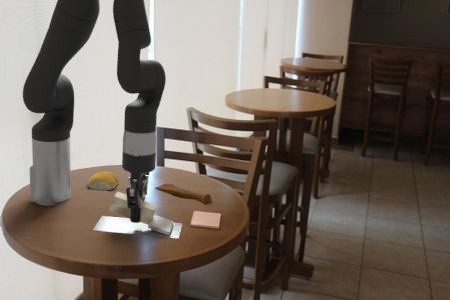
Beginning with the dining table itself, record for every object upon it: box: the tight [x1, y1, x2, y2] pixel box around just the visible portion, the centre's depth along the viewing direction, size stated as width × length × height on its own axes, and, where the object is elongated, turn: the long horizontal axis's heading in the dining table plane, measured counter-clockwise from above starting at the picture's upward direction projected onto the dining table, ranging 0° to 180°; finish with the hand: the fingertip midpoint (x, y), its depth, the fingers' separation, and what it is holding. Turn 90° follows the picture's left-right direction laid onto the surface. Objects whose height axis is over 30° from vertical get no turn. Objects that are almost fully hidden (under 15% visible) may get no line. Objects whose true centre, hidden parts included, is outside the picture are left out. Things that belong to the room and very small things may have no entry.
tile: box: [189, 210, 222, 230], centre depth 118 cm, size 2×8×7 cm
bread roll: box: [87, 171, 119, 192], centre depth 137 cm, size 8×9×4 cm
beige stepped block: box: [108, 191, 175, 235], centre depth 110 cm, size 15×6×4 cm, turn 88°
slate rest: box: [92, 215, 184, 240], centre depth 111 cm, size 20×8×1 cm, turn 88°
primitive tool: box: [154, 183, 213, 204], centre depth 135 cm, size 19×6×4 cm, turn 54°
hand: (137, 218), depth 111 cm, fingers closed on beige stepped block, 3 cm apart
